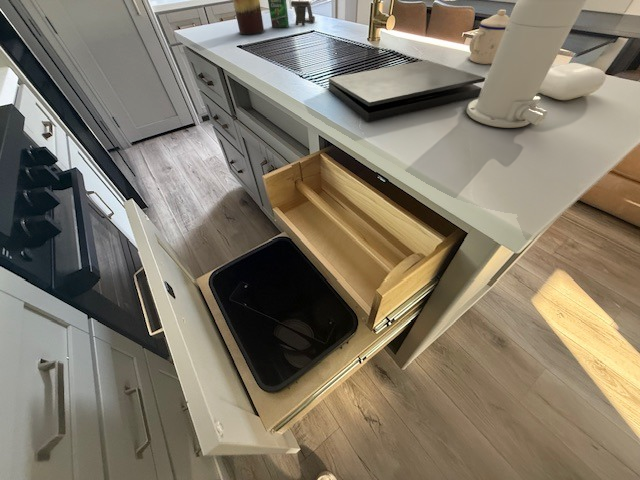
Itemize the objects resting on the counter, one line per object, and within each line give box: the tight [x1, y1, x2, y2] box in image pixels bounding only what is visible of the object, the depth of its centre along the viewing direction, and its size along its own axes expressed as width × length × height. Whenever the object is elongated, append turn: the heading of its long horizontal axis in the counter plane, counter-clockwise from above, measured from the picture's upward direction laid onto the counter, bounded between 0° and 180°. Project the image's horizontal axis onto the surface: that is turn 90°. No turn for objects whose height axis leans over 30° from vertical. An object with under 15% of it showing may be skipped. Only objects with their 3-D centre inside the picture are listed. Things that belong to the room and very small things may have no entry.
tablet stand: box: [290, 0, 316, 26], centre depth 124 cm, size 9×8×8 cm
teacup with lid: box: [469, 9, 510, 65], centre depth 77 cm, size 12×9×12 cm
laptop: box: [328, 81, 483, 123], centre depth 66 cm, size 21×30×2 cm
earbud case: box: [537, 62, 607, 101], centre depth 61 cm, size 10×13×5 cm
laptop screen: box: [328, 59, 486, 106], centre depth 65 cm, size 21×30×1 cm
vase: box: [232, 0, 265, 36], centre depth 112 cm, size 11×11×20 cm
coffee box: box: [267, 0, 290, 29], centre depth 119 cm, size 8×3×13 cm, turn 70°
